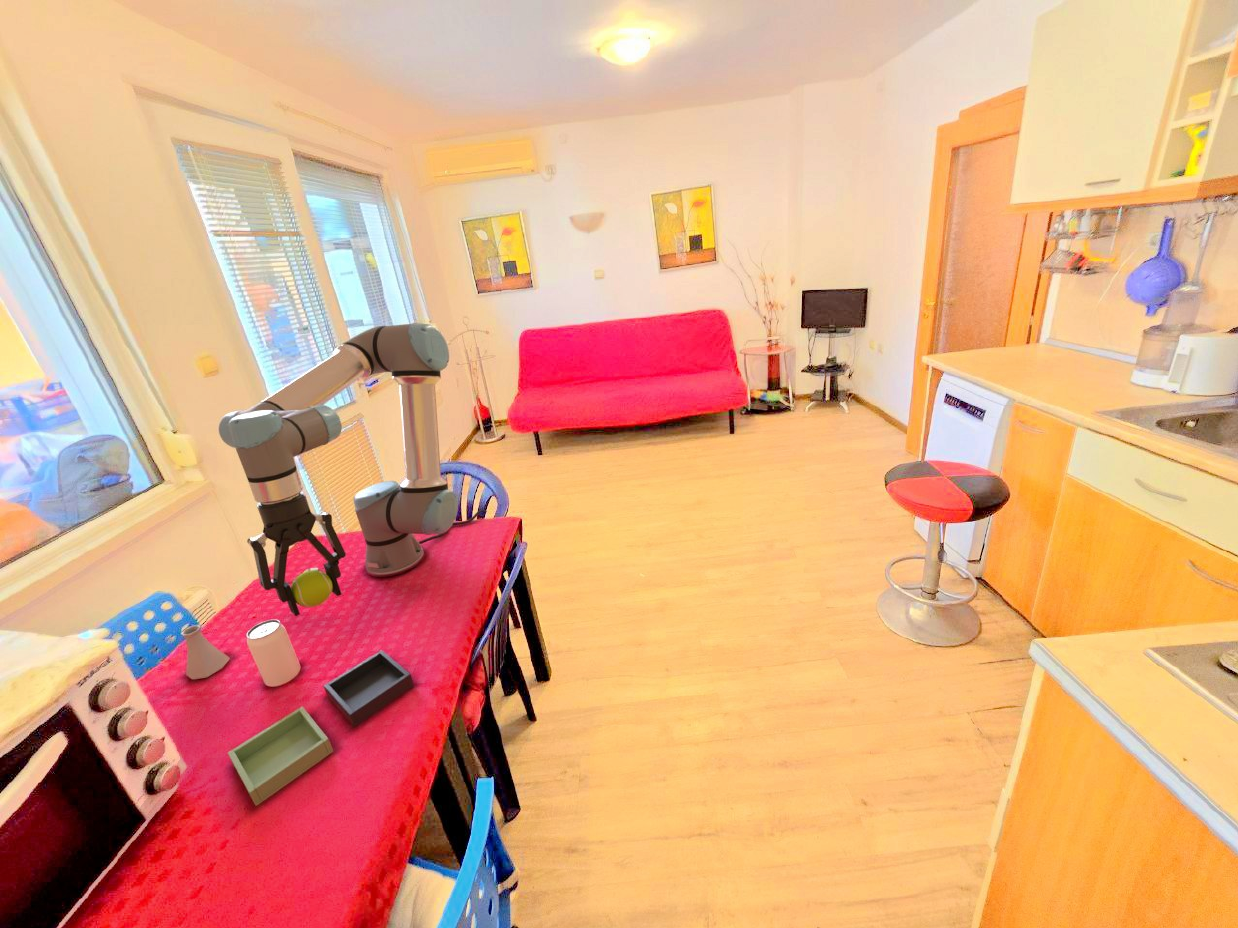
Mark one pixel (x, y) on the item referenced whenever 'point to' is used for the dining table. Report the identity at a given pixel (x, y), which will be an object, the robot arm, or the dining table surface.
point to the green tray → (279, 754)
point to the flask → (202, 654)
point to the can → (273, 653)
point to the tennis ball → (311, 588)
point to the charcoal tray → (368, 687)
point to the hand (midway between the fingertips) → (316, 602)
